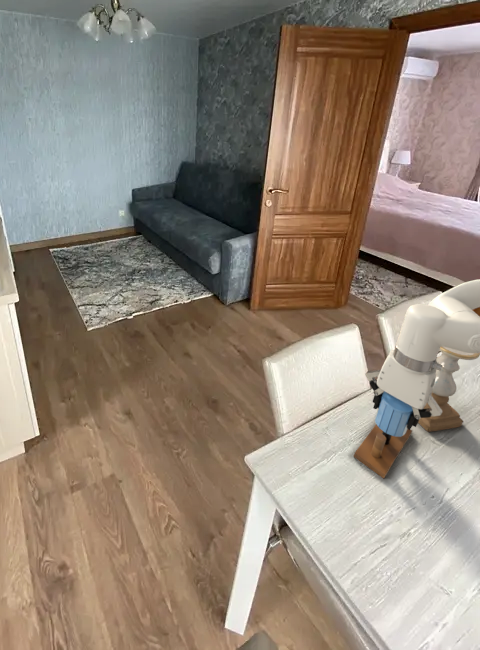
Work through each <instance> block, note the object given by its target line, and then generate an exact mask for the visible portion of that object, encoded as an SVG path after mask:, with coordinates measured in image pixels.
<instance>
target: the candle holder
mask: <svg viewBox="0 0 480 650" xmlns="http://www.w3.org/2000/svg"><path fill="white" fill-rule="evenodd" d="M439 352H441V355H439V356H437V359H436V360H437V362H438V363H439V364H441V365H443V366H442V368H441V370H440V371H439V370H437V369H436V378H435V383H434V387H433V391H432V394H431V396H432V397H433V398H434V400H435V401H436V402H437V404H438V405H439V407H440V408H441V409H442V411H443V412H442V414H441V415H440V416H431V417H428V418H420V419H419V422H418V424H419V425H420V426H421V427H422V428H423V429H424V430H425V431H426V432H429V433H431V432H437V431H445V430H449V429H456V428H460V427H462V426H463V423H464V420H463V419H462V418H461V415H460V413H459V412H458V411H457V410H456V409H455V408H454V407H453V406H451V405H450V404H449V402H450V397H452V396H454V395H455V394H456V392H457V383H456V381H455V380H454V379H455V378H454V377H453V374H454V373H456V372H459V370H460V365H459V360H463V361H474V360H476V359H478V358H479V357H480V353H468V352H463V351H459V350H455V349H452V348H448V347H444V346H441V347H440V349H439ZM428 408H429V409H431V408H430V406H429V405H428V403H426V405H425V407H424V409H428Z"/></svg>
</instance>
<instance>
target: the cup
mask: <svg viewBox="0 0 480 650" xmlns="http://www.w3.org/2000/svg"><path fill="white" fill-rule="evenodd" d="M412 414H413V409H412V406H410V405H409V404H407V403H405V402H403V401H401V400H399V399H398V398H396V397H394V396H392V395H390V394H389V393H387V392H383V394H382V396H381V400H380V403H379V406H378V408H377V409H376V413H375V414H374V415H375V416H374V423H375V425H376V424H377V426H378V427H379V428H380V429H381V430H382V431H384V432H385V433H387V434H389V435H392V436H395V437H401V436H403V435H404V434H406V431H407V425H408V422H409V420H410V417H411V415H412Z"/></svg>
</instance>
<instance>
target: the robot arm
mask: <svg viewBox="0 0 480 650" xmlns="http://www.w3.org/2000/svg"><path fill="white" fill-rule="evenodd" d="M478 308H480V279H474V280H473V279H472V280H470V281H466V282H462V283H460V284H458V285H456V286H453V287H452V288H449V289H447V290H446V291H444V292H441V293H440V294H439V295H437V296H435V297H434V298H433V299H431V301H429V303H428V304H426V303H414V304H411V305H410V306H409V307H407V309H406V311H405V315H404V318H403V320H402V323H401V327H400V331H399V334H398V336H397V340H396V343H395V346H394V349H391V351H390V352H389V353H388V355H387V356H386V358H385V360H384V362H383V364H382V366H381V368H380V369H373V370H367V371H366V372H365V373H364V374H365V377H366V379H367V381H368V383H369V386H370V387H371V389H372V390H373V391H372V393H373V395H374V396H373V398H372V403H373V407H372V409H374V410H377V409H378V406H379V403H380V400H381V396H382V394H383V392H387V393H389V394H390V395H392V396H394V397H396V398H398V399H399V400H401V401H403V402H405V403H407V404H409V405H410V406H412V409H413V414H412V415H411V417H410V420H409V422H408V425H407V429H409V430H412V428H413V427H414V428H417V426H418V424H419V423H418V422H419V419H420V418H428V417H431V416H440V415H441V414H442V412H443V411H442V409H441V408H440V407H439V405H438V404H437V402H436V401H435V400H434V398H433V397H432V396H431V394H432V391H433V387H434V383H435V378H436V369H437V370H439V371H440V370H441V368H442V366H443V365H441V364H439V363H438V362H437V360H436V359H437V357H438V355H439V352H440V350H439V349H440V347H441V346H444V347H448V348H452V349H455V350H459V351H463V352H468V353H480V315H479V314H478V313H476V311H474V310H476V309H478ZM376 378H377V379H376ZM426 403H428V405H429V406H430V408H431V409H429V408H428V409H424V407H425V405H426Z"/></svg>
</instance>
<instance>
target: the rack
mask: <svg viewBox="0 0 480 650" xmlns="http://www.w3.org/2000/svg"><path fill="white" fill-rule="evenodd" d="M412 433H413V430H412V429H410V430H409V429H407V431H406V434H404V435H403V436H401V437H395V436H392V435H389V434H387V433H385V432H384V431H382V430H381V429H380V428H379V427H378V426H377V424H376V423H375V425H374V426H373V428H372V429H371V430H370V431H369V433H368V434H367V435H366V437H365V438H364V439H363V441H362V442H361V444H360V445H359V446H358V448H357V449H356V450H355V452H354V454H353V458H354V459H356V460H357V461H358V462H360V463H361V464H363V465H364V466H365V467H366V468H368V469H369V470H371V471H372V472H373V473H375V474H377V475H378V476H379V477H380V478H382V479H385V478H386V477H387V475H388V473H389V471H390V470H391V468H392V466H393V465H394V463H395V462H396V460H397V458H398V457H399V455H400V453H401V451H402V450H403V448H404V447H405V445H406V444H407V443H408V440H409V438H410V437H411V435H412Z"/></svg>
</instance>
